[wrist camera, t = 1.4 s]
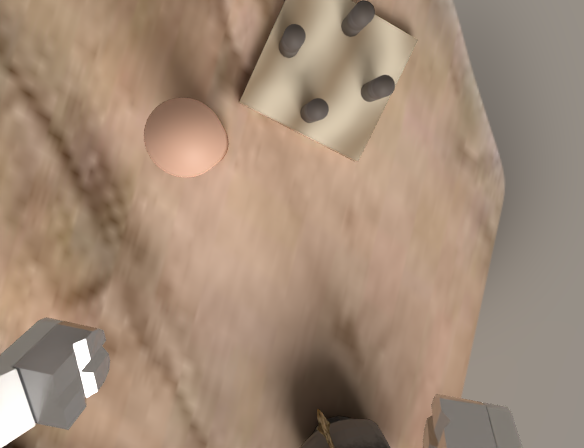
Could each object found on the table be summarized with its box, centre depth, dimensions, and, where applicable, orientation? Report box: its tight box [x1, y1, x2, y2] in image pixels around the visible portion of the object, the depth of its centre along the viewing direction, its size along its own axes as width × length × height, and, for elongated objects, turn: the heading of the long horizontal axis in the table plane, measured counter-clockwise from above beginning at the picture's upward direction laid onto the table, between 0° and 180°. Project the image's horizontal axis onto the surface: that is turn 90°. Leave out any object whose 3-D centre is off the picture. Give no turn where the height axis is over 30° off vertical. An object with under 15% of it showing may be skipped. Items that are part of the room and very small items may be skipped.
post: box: [144, 98, 228, 177], centre depth 36 cm, size 5×5×18 cm
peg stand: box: [239, 0, 418, 162], centre depth 42 cm, size 14×14×6 cm
